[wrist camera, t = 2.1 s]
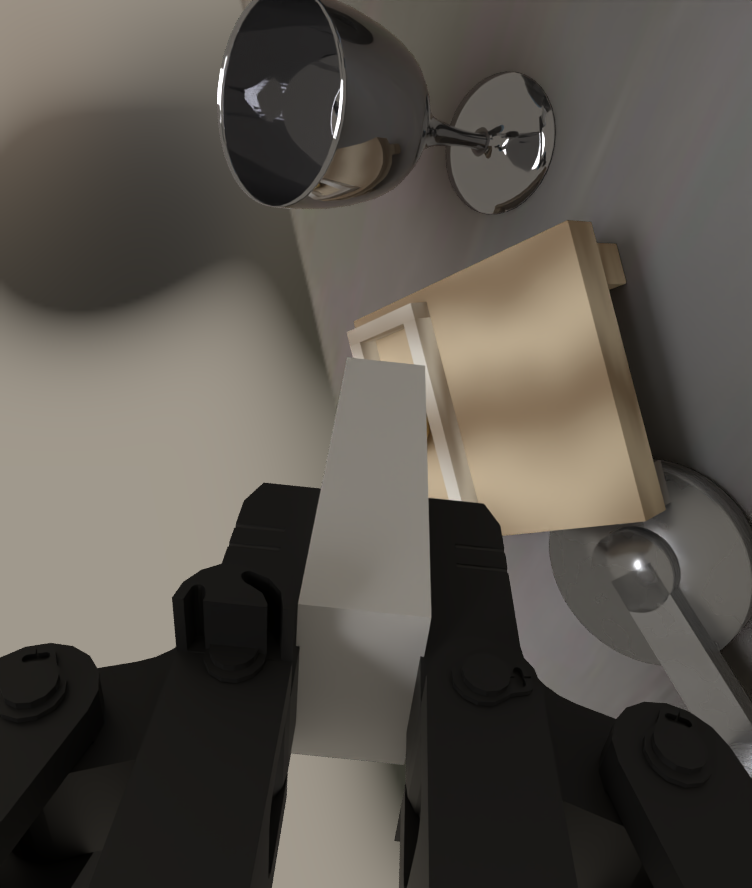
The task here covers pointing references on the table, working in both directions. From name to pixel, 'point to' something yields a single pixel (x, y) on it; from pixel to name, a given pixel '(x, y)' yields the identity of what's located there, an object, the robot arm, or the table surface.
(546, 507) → the stand
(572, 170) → the table surface
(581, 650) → the table surface
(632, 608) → the silver l-shaped piece
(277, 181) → the wine glass
